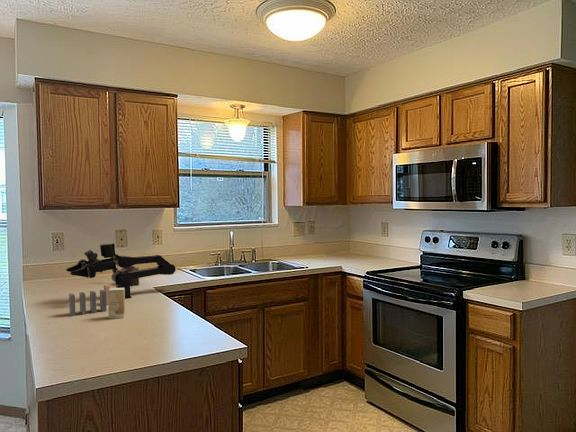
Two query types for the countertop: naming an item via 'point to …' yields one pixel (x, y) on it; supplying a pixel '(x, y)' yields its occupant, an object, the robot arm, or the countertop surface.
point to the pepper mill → (134, 281)
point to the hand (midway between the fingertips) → (68, 271)
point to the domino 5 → (107, 293)
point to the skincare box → (116, 303)
